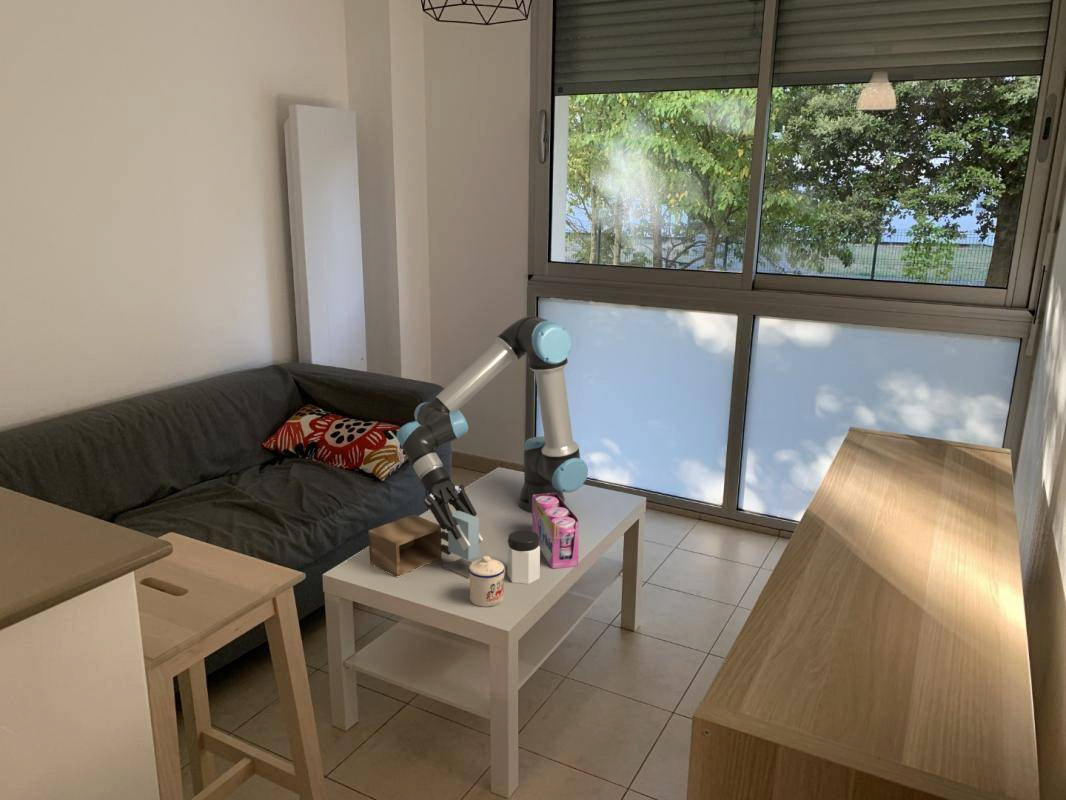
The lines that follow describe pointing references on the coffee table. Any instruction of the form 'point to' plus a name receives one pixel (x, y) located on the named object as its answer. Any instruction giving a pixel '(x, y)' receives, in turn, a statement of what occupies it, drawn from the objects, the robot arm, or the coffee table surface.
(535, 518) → the gum box
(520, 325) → the robot arm
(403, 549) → the cabinet
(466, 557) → the door panel
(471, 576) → the teacup with lid
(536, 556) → the jar
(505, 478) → the coffee table surface
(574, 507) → the coffee table surface
